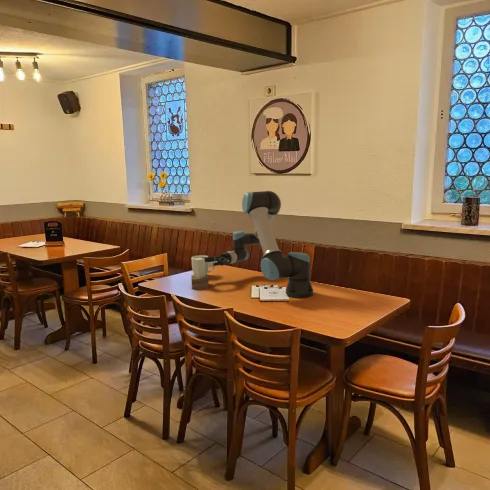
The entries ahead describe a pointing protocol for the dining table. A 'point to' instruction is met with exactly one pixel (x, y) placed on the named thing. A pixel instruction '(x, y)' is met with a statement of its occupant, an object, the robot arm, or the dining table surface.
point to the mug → (205, 263)
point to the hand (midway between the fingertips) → (201, 263)
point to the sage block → (199, 267)
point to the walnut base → (200, 282)
